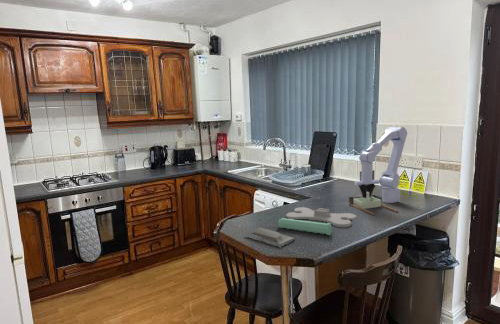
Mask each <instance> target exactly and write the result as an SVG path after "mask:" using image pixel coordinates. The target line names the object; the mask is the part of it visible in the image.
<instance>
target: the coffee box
mask: <svg viewBox="0 0 500 324" xmlns="http://www.w3.org/2000/svg"><path fill="white" fill-rule="evenodd" d="M361 176H362V170H361V171H359V181H361ZM372 180H375V170H374V169H373V170H372ZM365 186H366V185H365ZM359 195H362V192H361V190H360V189H359ZM374 195H375V188H374V189H373V191H372V197H374Z"/></svg>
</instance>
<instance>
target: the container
mask: <svg viewBox="0 0 500 324" xmlns="http://www.w3.org/2000/svg"><path fill="white" fill-rule="evenodd" d="M277 225H278V227H279V228H280V227H283V228H289V229H294V230H293V231H296V230H300V231H299V232H303V231H307V232H306V233H309V232H313V233H312V234H317V233H320V234H319V235H324V234H326V236H327V235H329V236H331V235H332V231H333V229H332V228H333V227H332V226H333V225H331V223H326V222H320V221H312V220H294V219H287V218H286V217H285V218H284V217H283V218H282V217H281V218H279V220H278V222H277ZM283 228H282V229H283ZM289 229H288V230H289Z"/></svg>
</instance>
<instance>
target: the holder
mask: <svg viewBox="0 0 500 324" xmlns="http://www.w3.org/2000/svg"><path fill="white" fill-rule="evenodd" d="M316 208H317V209H314V210H313V209H311V208H308V207H303V206H302V207H300V206H299V207H296V208H294V209H293V211H292V212H291V211H290V212H287V213H286V214H285V218H286V217H287V218H289V219H309V220H308V221H317V220H318V221H317V222H322V221H323V222H322V223H326V222H327V224H328V223H331V224H332V226H333V227H336V228H349V227H351V226H352V222H353V220H356V219H357V218H358V216H357V215H356V214H354V213H350V212H348V213H347V212H344V213H343V212H341V213H335V212H334V213H333V212H331V210H330V209H329V208H322V207H316ZM287 218H286V219H287Z"/></svg>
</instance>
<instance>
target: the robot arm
mask: <svg viewBox="0 0 500 324" xmlns="http://www.w3.org/2000/svg"><path fill="white" fill-rule="evenodd" d="M407 135H408V130H407V129H406V127H404V126H401V127H400V126H388V127H387V128H386V129H385V130H384V134H383V135H381V137H380V139H378V141H377V142H373V143H371V145H370V146H369V147H368V148H367V149H366V150H365V151H363V152H361V153H360V154H359V156H358V159H359V161H360V165H361V171H362V176H361V181H360V180H358V181H354V186H355V187H359V191H360V190H361V192H362V196H363V198H366V192H369V198H370V197H371V194H372V191H373V189H374V190H375V188H376V185H380V186H381V202H383V203H387V204H393V203H398V202H399V203H401V204H402V202H401V190H400V188H399V187H398V186H399V185H400V175H399V174H398V168H399V164H400V161H401V158H402V153H403V151H404V147H405V143H406V139H407ZM389 141H391V142H392V144H393V147H392V150H391V153H390V157H389V161H388V164H387V168H386V170H384V171H383V172H382V173H381V175H380V177H379V179H374V180H372V170H374V169H373V167H374V166H373V164H374V162H375V161H376V157H377V155H379V153H380V152H381V151H382V150H383V146H384V145H386V144H387V143H388V142H389ZM365 185H366V186H365Z"/></svg>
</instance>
